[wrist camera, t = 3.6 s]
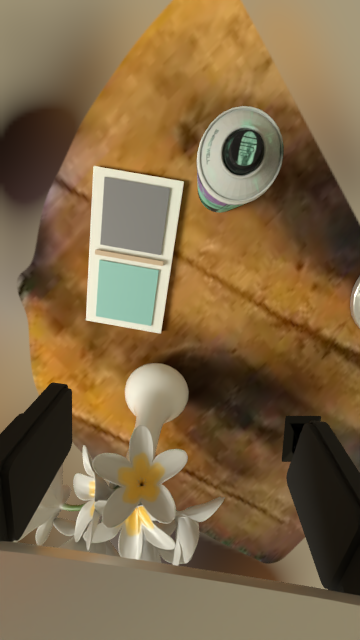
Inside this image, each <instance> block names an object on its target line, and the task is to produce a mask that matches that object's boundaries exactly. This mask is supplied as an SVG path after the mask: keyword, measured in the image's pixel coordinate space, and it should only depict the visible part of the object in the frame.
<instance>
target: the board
mask: <svg viewBox="0 0 360 640" xmlns="http://www.w3.org/2000/svg"><path fill="white" fill-rule="evenodd" d="M183 186H184V181H178V180H172V179H167V178H161V177H155V176H149V175H143V174H138V173H132V172H126V171H120V170H114V169H109V168H103V167H97V166H94V168H93V188H92V208H91V228H90V249H89V269H88V289H87V309H86V320H88V321H93V322H99V323H105V324H110V325H116V326H122V327H127V328H133V329H139V330H144V331H150V332H156V333H161V331H162V325H163V318H164V312H165V305H166V299H167V292H168V285H169V279H170V272H171V266H172V259H173V252H174V246H175V239H176V233H177V226H178V219H179V213H180V206H181V200H182V193H183Z"/></svg>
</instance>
